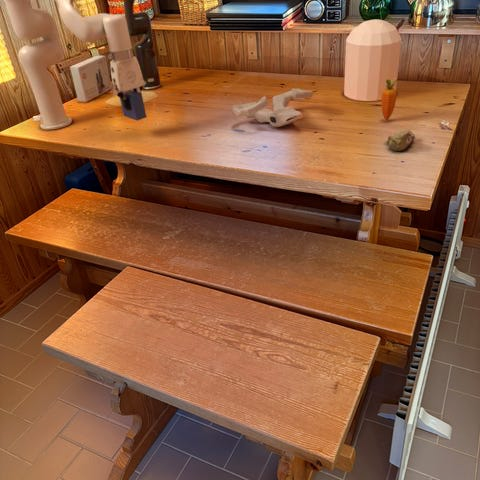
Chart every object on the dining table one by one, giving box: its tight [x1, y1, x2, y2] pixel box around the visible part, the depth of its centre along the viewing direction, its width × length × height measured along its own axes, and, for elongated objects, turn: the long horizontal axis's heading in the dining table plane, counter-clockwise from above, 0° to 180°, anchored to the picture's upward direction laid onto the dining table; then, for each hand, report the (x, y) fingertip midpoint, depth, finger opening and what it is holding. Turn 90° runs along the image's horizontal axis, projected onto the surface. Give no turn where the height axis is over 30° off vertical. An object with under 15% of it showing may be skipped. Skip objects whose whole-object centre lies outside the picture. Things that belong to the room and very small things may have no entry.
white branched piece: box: [231, 88, 314, 128], centre depth 171 cm, size 28×26×12 cm
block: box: [118, 89, 147, 121], centre depth 168 cm, size 4×9×9 cm, turn 45°
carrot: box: [380, 78, 398, 122], centre depth 161 cm, size 5×5×15 cm
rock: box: [387, 129, 416, 152], centre depth 146 cm, size 11×6×10 cm
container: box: [343, 18, 402, 102], centre depth 184 cm, size 21×21×28 cm
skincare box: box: [69, 54, 113, 103], centre depth 218 cm, size 21×6×16 cm, turn 158°
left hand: (133, 107), depth 168 cm, fingers closed on block, 4 cm apart
